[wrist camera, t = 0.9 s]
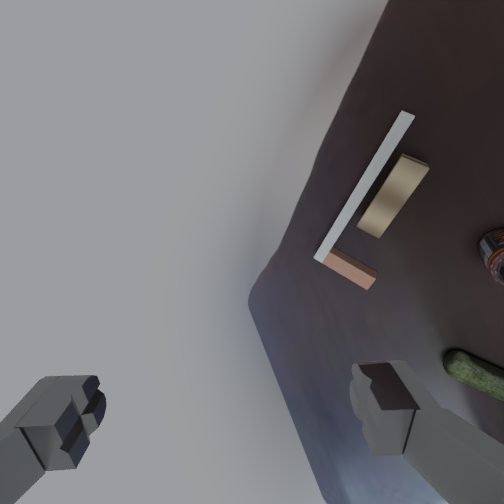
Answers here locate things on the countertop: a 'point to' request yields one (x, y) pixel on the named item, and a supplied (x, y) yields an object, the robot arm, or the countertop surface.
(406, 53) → the countertop surface
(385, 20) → the countertop surface
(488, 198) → the countertop surface
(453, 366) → the vegetable
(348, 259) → the board
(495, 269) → the supplement bottle
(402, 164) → the long beige block
